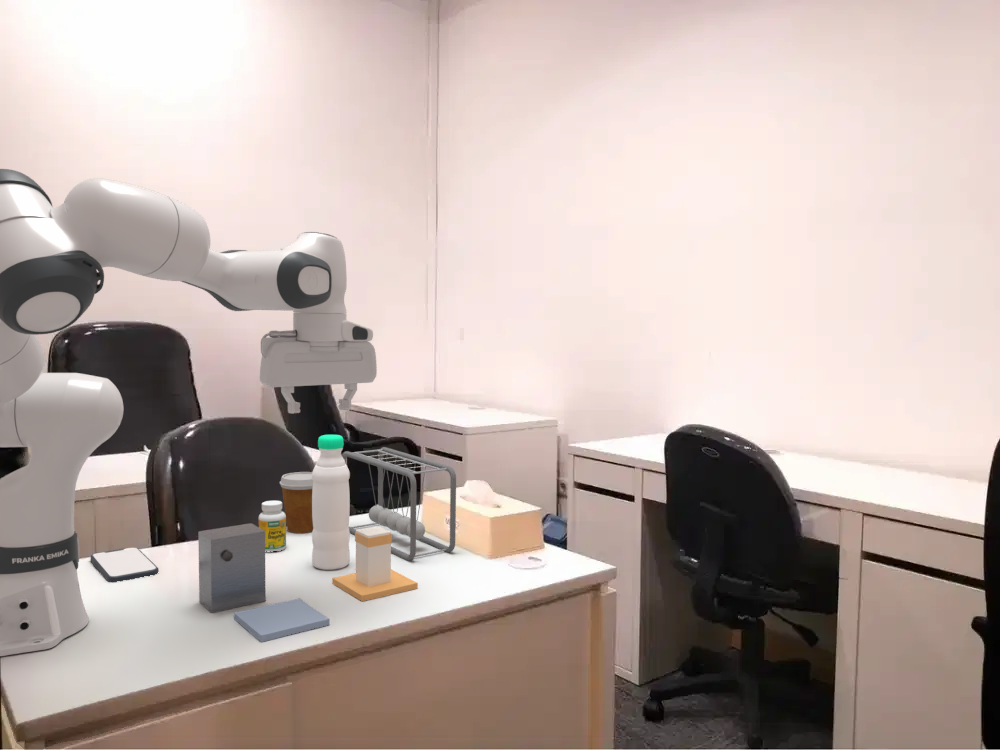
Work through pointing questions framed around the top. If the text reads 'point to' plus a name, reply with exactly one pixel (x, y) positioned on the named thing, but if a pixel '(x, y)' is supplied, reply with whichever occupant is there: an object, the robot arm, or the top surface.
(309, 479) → the disposable coffee cup
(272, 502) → the supplement bottle
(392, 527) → the newton's cradle
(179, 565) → the top surface
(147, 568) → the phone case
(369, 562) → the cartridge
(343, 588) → the orange pad
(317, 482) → the water bottle
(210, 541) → the control box
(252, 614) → the blue pad
